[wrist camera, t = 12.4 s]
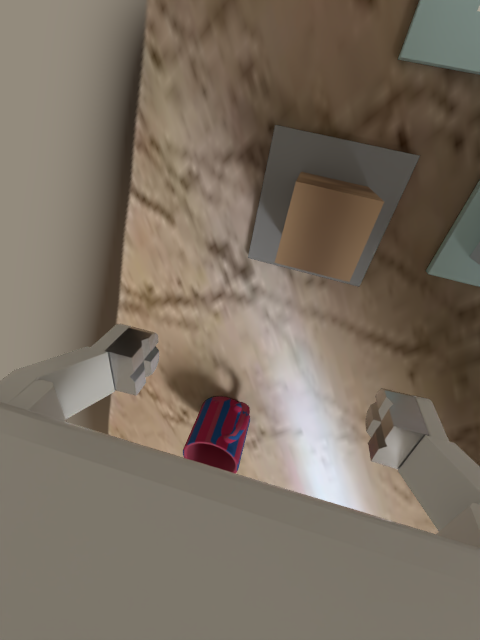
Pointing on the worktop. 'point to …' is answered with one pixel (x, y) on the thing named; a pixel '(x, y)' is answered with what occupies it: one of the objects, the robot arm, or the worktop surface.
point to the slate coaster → (332, 162)
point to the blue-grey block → (476, 254)
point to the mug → (219, 434)
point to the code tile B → (460, 246)
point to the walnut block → (327, 226)
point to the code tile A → (445, 35)
